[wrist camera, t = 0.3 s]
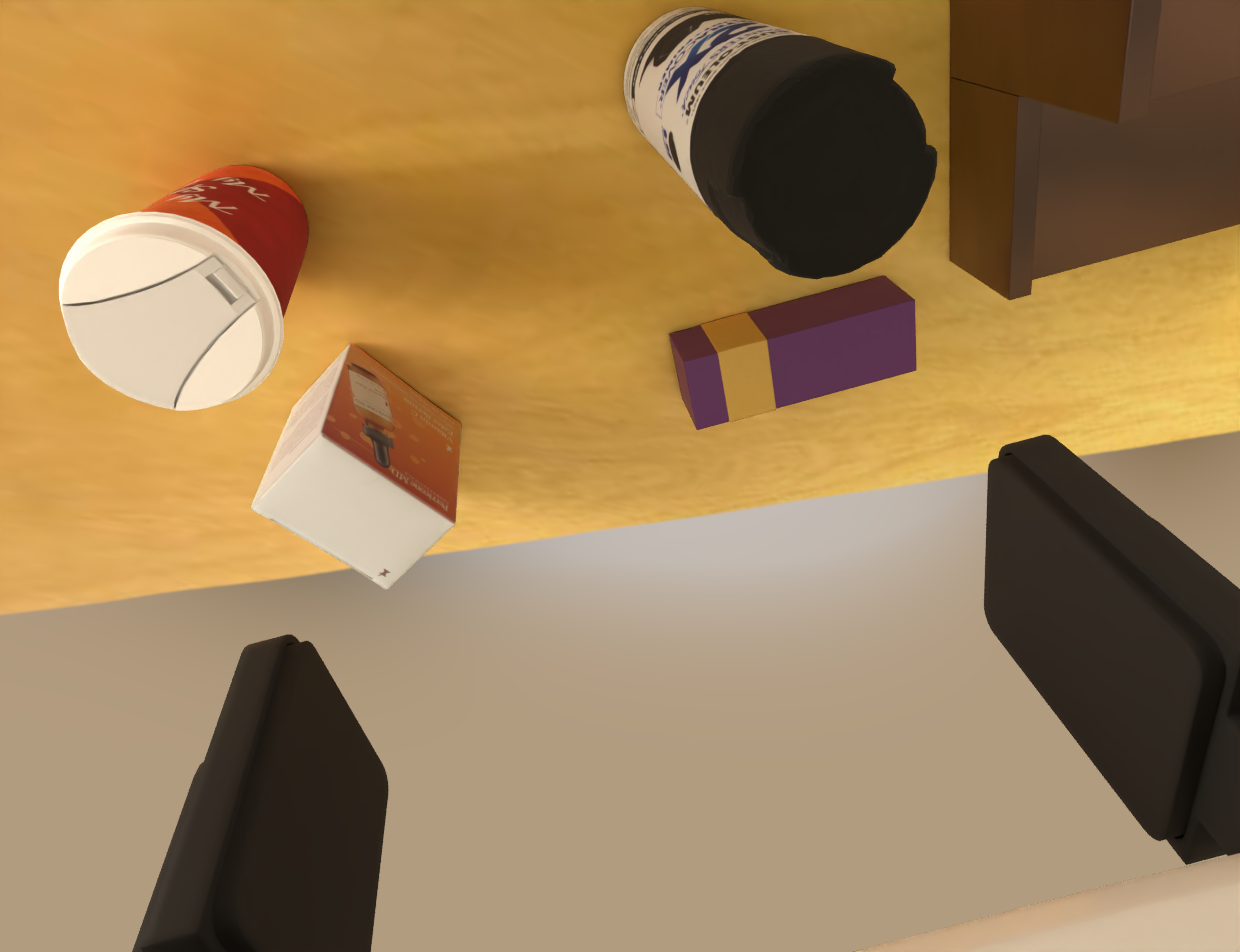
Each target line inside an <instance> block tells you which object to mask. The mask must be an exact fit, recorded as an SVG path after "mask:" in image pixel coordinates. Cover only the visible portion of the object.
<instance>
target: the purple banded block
mask: <svg viewBox="0 0 1240 952" xmlns="http://www.w3.org/2000/svg"><path fill="white" fill-rule="evenodd" d="M669 337H670V342H671V347H672V352H673V356H674V361H675V366H676V371H677V376H678V381H679V386H680V391H681V396H682V399H683V401H684V404H685V406H686V408H687V410H688V412H689V414H690V416H691V418H692V421H693V423H694V425H695V427H696V429H697V430H699V429H703V428H707V427H710V426H714V425H718V424H721V423H725V422H733V421H736V420H740V419H744V418H747V417H751V416H755V415H758V414H762V413H766V412H769V411H773V410H776V408H780V407H784V406H787V405H791V404H795V403H799V402H802V401H806V400H810V399H813V398H817V397H821V396H824V395H828V394H832V393H835V392H839V391H843V390H846V389H850V388H854V387H857V386H861V385H865V384H868V383H872V382H876V381H879V380H883V379H887V378H890V377H894V376H898V375H901V374H905V373H909V372H912V371H916V331H915V300H914V299H913V298H912V297H911V296H909V295H908V294H907V293H906V292H904V291H903V290H902V289H901V288H899V287H898V286H897V285H896V284H894V283H893V282H892V281H891V280H889V279H888V278H887V277H886V276H881V277H877V278H874V279H870V280H866V281H863V282H859V283H855V284H852V285H848V286H844V287H841V288H837V289H833V290H830V291H826V292H822V293H819V294H815V295H811V296H808V297H804V298H800V299H797V300H793V301H789V302H785V303H782V304H778V305H774V306H771V307H767V308H763V309H760V310H756V311H752V312H749V313H746V312H745V313H741V314H738V315H734V316H730V317H727V318H723V319H719V320H716V321H712V322H708V323H705V324H701V326H697V327H693V328H690V329H686V330H682V331H679V332H675V333H671V334H669Z"/></svg>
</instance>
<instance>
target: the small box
mask: <svg viewBox="0 0 1240 952" xmlns="http://www.w3.org/2000/svg"><path fill="white" fill-rule="evenodd" d="M461 427H462V426H461V424H460V423H459V422H458V421H457V420H455V419H454V418H452V417H451V416H449V415H448V414H446V413H445V412H443V411H442V410H441V409H439V408H438V407H436V406H435V405H434V404H432V403H431V402H430V401H428V400H427V399H426V398H424V397H423V396H421V395H420V394H419V393H417V392H416V391H415V390H414V389H412V388H411V387H410V386H408V385H407V384H406V383H404V382H403V381H402V380H400V379H399V378H398V377H396V376H395V375H394V374H393V373H391V372H390V371H389V370H387V369H386V368H385V367H383V366H382V365H381V364H379V363H378V362H377V361H375V360H374V359H373V358H371V357H370V356H369V355H367V354H366V353H365V352H364V351H362V350H361V349H360V348H358V347H357V346H356V345H354V344H349V345H348V346H347V348H346V349H345V350H344V351H343V352H342V353H341V354H340V355H339V356H338V357H337V358H336V359H335V360H334V361H333V363H332V364H331V365H330V366H329V367H328V368H327V369H326V370H325V372H324V373H323V374H322V375H321V376H320V377H319V378H318V379H317V380H316V382H315V383H314V384H313V385H312V386H311V387H310V388H309V389H308V390H307V392H306V393H305V394H304V395H303V396H302V397H301V398H300V400H299V401H298V402H297V403H296V404H295V405H294V407H293V408H292V411H291V413H290V416H289V418H288V420H287V422H286V425H285V427H284V429H283V432H282V434H281V437H280V439H279V441H278V443H277V446H276V448H275V450H274V453H273V455H272V458H271V460H270V463H269V465H268V467H267V470H266V472H265V475H264V477H263V479H262V482H261V484H260V486H259V489H258V491H257V493H256V496H255V498H254V500H253V503H252V505H251V509H252V510H253V511H255V512H257V513H259V514H260V515H262V516H264V517H266V518H268V519H270V520H272V521H274V522H275V523H277V524H279V525H281V526H282V527H284V528H286V529H288V530H289V531H291V532H293V533H294V534H296V535H298V536H300V537H301V538H303V539H305V540H306V541H308V542H310V543H311V544H313V545H315V546H316V547H318V548H320V549H321V550H323V551H325V552H327V553H328V554H330V555H332V556H333V557H335V558H337V559H338V560H340V561H342V562H343V563H345V564H347V565H348V566H350V567H352V568H353V569H355V570H356V571H358V572H360V573H361V574H363V575H364V576H366V577H368V578H369V579H370V580H372V581H373V582H375V583H376V584H378V585H379V586H381V587H382V588H384V589H388V588H389V587H390V586H391V585H392V584H393V583H394V582H395V581H396V580H397V579H399V577H401V576H402V575H403V574H404V573H405V572H406V571H407V570H408V569H409V568H410V567H411V566H412V565H413V564H414V563H415V562H416V561H417V560H418V559H419V558H420V557H422V556H423V555H424V554H425V553H426V552H427V551H428V550H429V549H430V548H431V547H432V546H433V545H434V544H435V543H436V542H437V541H438V540H439V539H440V538H441V537H442V536H443V535H444V534H445V533H446V532H447V531H448V530H449V529H450V528H451V527H453V526H454V524H455V521H456V507H457V492H458V475H459V459H460V444H461Z"/></svg>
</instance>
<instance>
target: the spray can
mask: <svg viewBox="0 0 1240 952" xmlns="http://www.w3.org/2000/svg"><path fill="white" fill-rule="evenodd" d="M895 71H896V68H895V66H894V64H892V63H891V62H889V61H887V60H884V59H881V58H878V57H875V56H872V55H868V54H865V53H861V52H858V51H855V50H852V49H849V48H846V47H842V46H839V45H836V44H833V43H830V42H828V41H826V40H823V39H820V38H817V37H813V36H809V35H805V34H802V33H798V32H794V31H791V30H787V29H783V28H779V27H776V26H772V25H768V24H765V23H761V22H757V21H754V20H750V19H746V18H742V17H739V16H735V15H732V14H728V13H725V12H721V11H717V10H714V9H710V8H705V7H684V8H680V9H676V10H673V11H671V12H669V13H667V14H665V15H663V16H661V17H660V18H658V19H657V20H656V21H654V22H653V23H652V24H651V25H650V26H648V27H647V28H646V29H645V30H644V32H643V33H642V34H641V35H640V37H639V38H638V39H637V40H636V42H635V44H634V46H633V48H632V50H631V52H630V54H629V57H628V60H627V63H626V67H625V72H624V84H623V92H624V96H625V100H626V104H627V108H628V111H629V114H630V116H631V119H632V120H633V122H634V124H635V126H636V127H637V129H638V130H639V131H640V133H641V134H642V135H643V136H644V137H645V139H646V140H647V141H648V142H649V143H650V144H651V145H652V146H653V147H654V149H655V150H656V151H657V152H658V153H659V154H660V155H661V156H662V157H663V158H664V159H665V161H666V162H667V163H668V164H669V165H670V166H671V167H672V168H673V169H674V170H675V172H676V173H677V174H678V175H679V176H680V177H681V178H682V179H683V180H684V182H685V183H686V184H687V185H688V186H689V187H690V188H691V189H692V190H693V192H694V193H695V194H696V195H697V196H698V197H699V198H700V199H701V200H702V201H703V202H704V203H705V205H706V206H707V207H708V208H709V209H710V210H711V211H712V212H713V213H714V215H715V216H716V217H718V218H719V219H720V220H721V221H722V222H723V223H724V224H725V225H726V226H727V227H728V228H729V229H730V230H731V231H732V232H733V233H734V234H735V235H737V236H738V237H739V238H741V239H742V240H744V241H746V242H747V243H749V244H750V245H751V246H752V247H753V248H754V249H756V250H757V251H758V252H759V253H760V255H762V256H763V257H764V258H765V259H767V260H768V262H769V263H770V264H771V265H772V266H773V267H775V268H776V269H778V270H780V271H782V272H784V273H786V274H789V275H792V276H797V277H803V278H811V279H820V278H823V277H833V276H837V275H841V274H846V273H849V272H852V271H854V270H856V269H859V268H860V267H862V266H863V265H865V264H867V263H870V262H872V261H874V260H876V259H878V258H880V257H882V256H883V255H884V254H885V253H886V252H887V251H888V250H889V249H890V248H891V247H892V246H893V245H894V244H896V243H897V242H898V241H899V240H900V239H901V238H902V237H903V235H904V234H905V233H906V231H907V230H908V229H909V228H910V227H911V226H912V225H913V223H914V222H915V220H916V218H917V217H918V215H919V213H920V211H921V209H922V207H923V205H924V203H925V201H926V199H927V197H928V194H929V191H930V189H931V186H932V184H933V181H934V179H935V172H936V167H937V151H936V149H935V148H934V147H932V146H930V145H927V144H926V129H925V124H924V122H923V119H922V117H921V115H920V113H919V111H918V109H917V107H916V105H915V103H914V102H913V100H912V99H911V98H910V96H909V95H908V94H907V93H906V92H905V91H904V90H903V89H902V88H901V87H900V86H899V85H898V84H897V83H896V82H895V81H894V80H893V77H894V74H895Z"/></svg>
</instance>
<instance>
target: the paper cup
mask: <svg viewBox="0 0 1240 952" xmlns="http://www.w3.org/2000/svg"><path fill="white" fill-rule="evenodd" d="M308 236H309V226H308V220H307V215H306V212H305V210H304V207H303V205H302V203H301V201H300V200H299V198H298V197H297V195H296V194H295V193H294V191H293V190H292V189H291V188H290V187H289V186H288V185H287V184H286V183H285V182H284V181H282V180H281V179H280V178H278V177H277V176H275V175H273V174H272V173H270V172H268V171H265V170H263V169H260V168H257V167H253V166H246V165H233V166H226V167H222V168H219V169H217V170H214V171H212V172H210V173H208V174H205V175H203V176H202V177H200V178H198V179H196V180H194V181H192V182H190V183H189V184H187V185H185V186H183V187H181V188H180V189H178V190H176V191H174V192H173V193H171V194H169V195H167V196H166V197H164V198H162V199H160V200H159V201H157V202H155V203H153V204H152V205H150V206H148V207H146V208H145V209H143V210H141V211H139V212H134V213H129V214H123V215H118V216H116V217H113V218H110V219H107V220H105V221H102V222H101V223H99V224H97V225H96V226H94V227H92V228H91V229H89V230H88V231H87V232H86V233H85V234H83V235H82V236H81V237H80V238H79V239H78V240H77V241H76V243H75V244H74V245H73V247H72V248H71V249H70V251H69V252H68V254H67V257H66V259H65V261H64V263H63V266H62V270H61V275H60V279H59V299H60V305H61V310H62V314H63V317H64V321H65V325H66V328H67V332H68V335H69V338H70V340H71V342H72V344H73V346H74V349H75V351H76V353H77V355H78V357H79V358H80V360H81V361H82V362H83V364H84V365H85V366H86V367H87V368H88V369H89V370H90V371H91V372H92V373H93V374H94V375H95V376H97V377H98V378H99V379H100V380H101V381H103V382H104V383H106V384H107V385H108V386H110V387H112V388H113V389H115V390H118V391H119V392H121V393H123V394H124V395H127V396H129V397H131V398H133V399H135V400H138V401H141V402H145V403H148V404H151V405H155V406H159V407H163V408H168V409H172V410H173V409H174V408H175V407H176V408H175V410H180V411H186V410H199V409H204V408H210V407H213V406H216V405H220V404H225V403H227V402H230V401H233V400H236V399H238V398H240V397H242V396H244V395H246V394H248V393H249V392H251V391H252V390H253V389H255V388H256V387H257V386H258V385H260V384H261V383H262V382H263V381H264V380H265V378H266V377H267V376H268V375H269V374H270V373H271V371H272V369H273V367H274V366H275V364H276V362H277V360H278V357H279V354H280V352H281V349H282V343H283V336H284V323H283V318H284V315H285V312H286V309H287V306H288V303H289V300H290V297H291V295H292V292H293V289H294V286H295V283H296V280H297V277H298V274H299V271H300V268H301V265H302V262H303V258H304V255H305V251H306V248H307V243H308Z"/></svg>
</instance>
